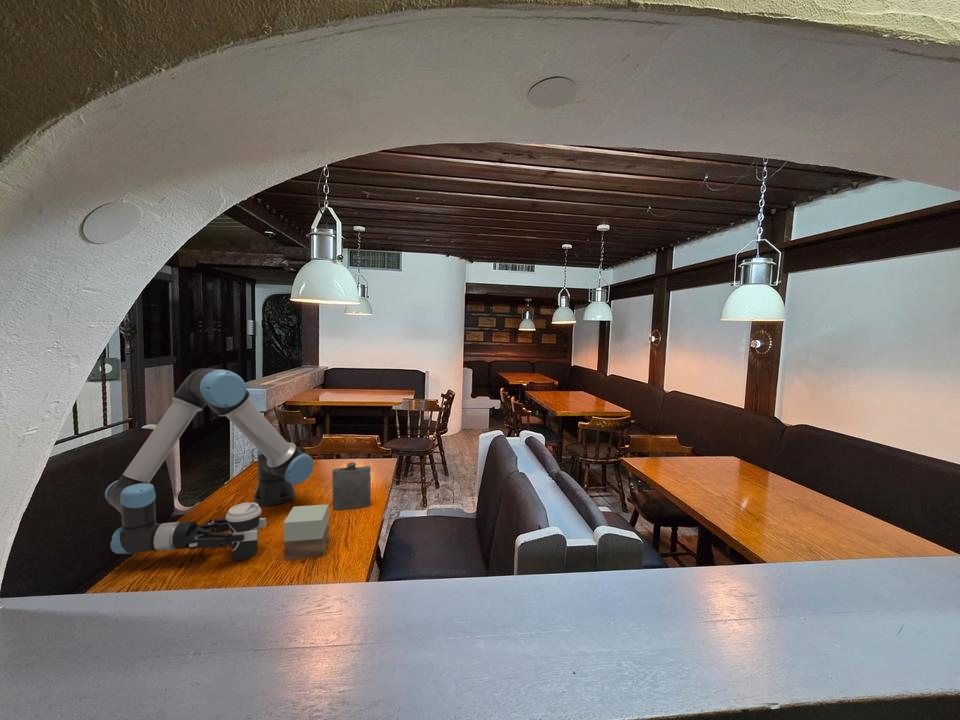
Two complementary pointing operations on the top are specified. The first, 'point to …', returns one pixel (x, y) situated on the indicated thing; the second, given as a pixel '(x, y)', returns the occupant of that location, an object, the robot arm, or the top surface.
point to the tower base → (306, 547)
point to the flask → (351, 487)
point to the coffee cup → (244, 528)
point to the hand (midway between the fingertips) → (261, 528)
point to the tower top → (306, 523)
